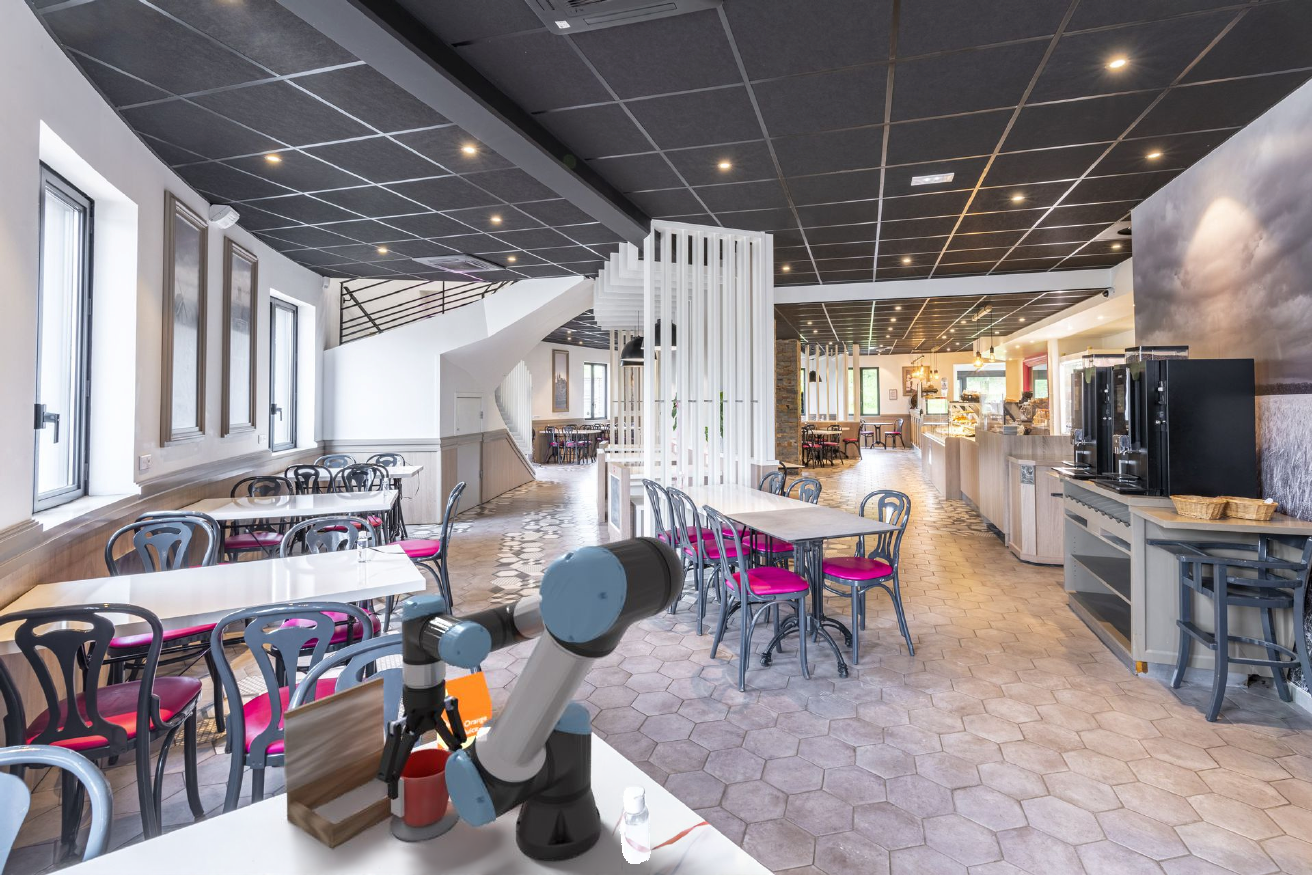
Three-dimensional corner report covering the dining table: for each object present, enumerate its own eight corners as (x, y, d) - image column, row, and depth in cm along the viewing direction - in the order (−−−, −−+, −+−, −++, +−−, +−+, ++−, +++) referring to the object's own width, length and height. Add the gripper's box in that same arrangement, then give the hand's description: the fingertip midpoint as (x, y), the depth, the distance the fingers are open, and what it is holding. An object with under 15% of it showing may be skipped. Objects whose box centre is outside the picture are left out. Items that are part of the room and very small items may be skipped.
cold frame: (429, 793, 129) (429, 694, 129) (332, 849, 112) (331, 735, 112) (377, 767, 139) (376, 675, 138) (280, 815, 122) (279, 710, 121)
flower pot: (436, 835, 114) (436, 781, 114) (380, 827, 117) (380, 774, 116) (465, 801, 125) (465, 751, 124) (414, 794, 127) (413, 745, 127)
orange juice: (436, 769, 138) (436, 676, 138) (475, 755, 144) (475, 665, 144) (453, 784, 132) (452, 687, 132) (492, 769, 138) (492, 676, 138)
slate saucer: (472, 815, 122) (472, 811, 122) (417, 850, 112) (417, 846, 112) (431, 794, 129) (431, 791, 129) (376, 826, 119) (376, 822, 119)
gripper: (460, 657, 132) (461, 764, 132) (353, 698, 112) (354, 823, 113) (486, 665, 127) (486, 776, 128) (379, 709, 108) (380, 839, 109)
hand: (424, 798), depth 120 cm, fingers closed on flower pot, 11 cm apart
